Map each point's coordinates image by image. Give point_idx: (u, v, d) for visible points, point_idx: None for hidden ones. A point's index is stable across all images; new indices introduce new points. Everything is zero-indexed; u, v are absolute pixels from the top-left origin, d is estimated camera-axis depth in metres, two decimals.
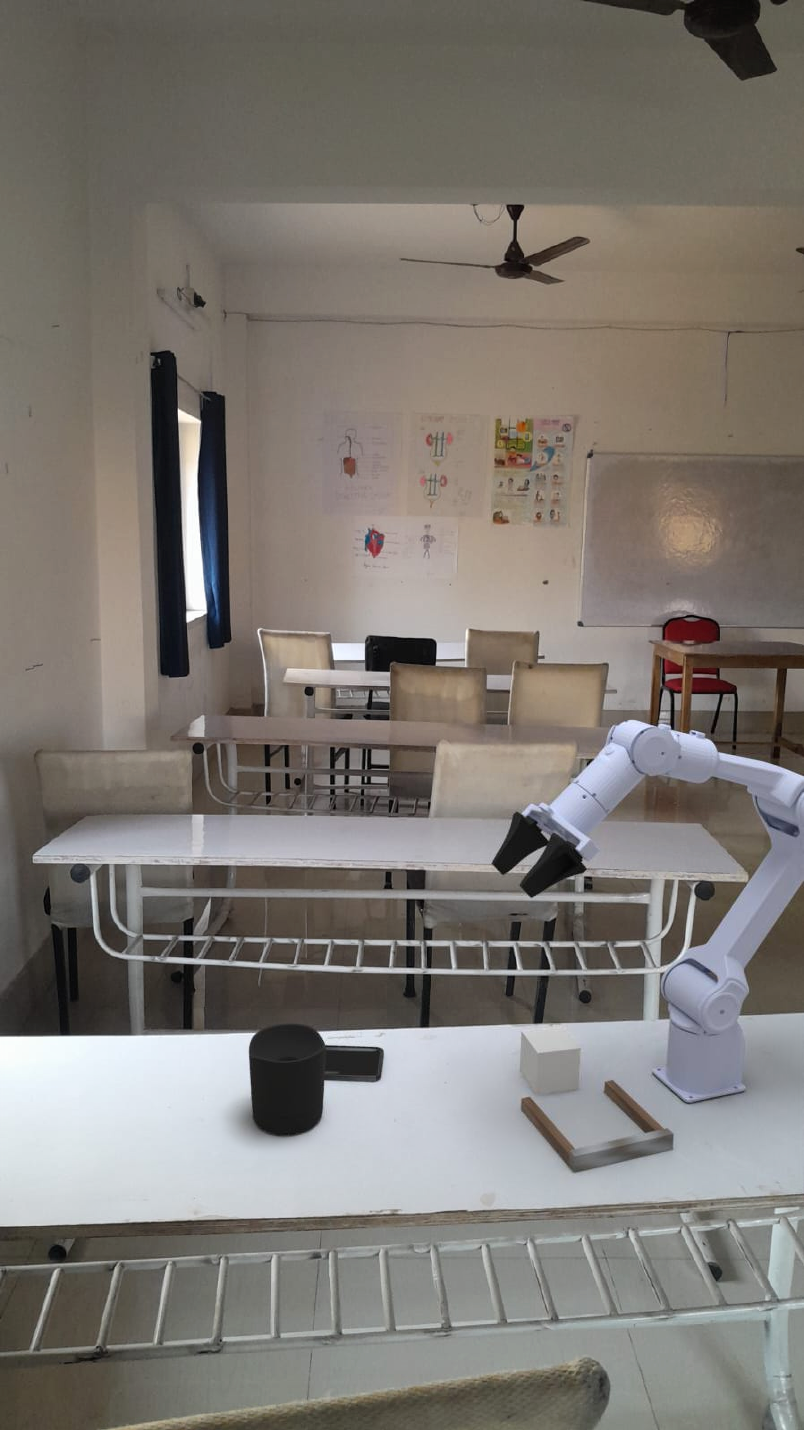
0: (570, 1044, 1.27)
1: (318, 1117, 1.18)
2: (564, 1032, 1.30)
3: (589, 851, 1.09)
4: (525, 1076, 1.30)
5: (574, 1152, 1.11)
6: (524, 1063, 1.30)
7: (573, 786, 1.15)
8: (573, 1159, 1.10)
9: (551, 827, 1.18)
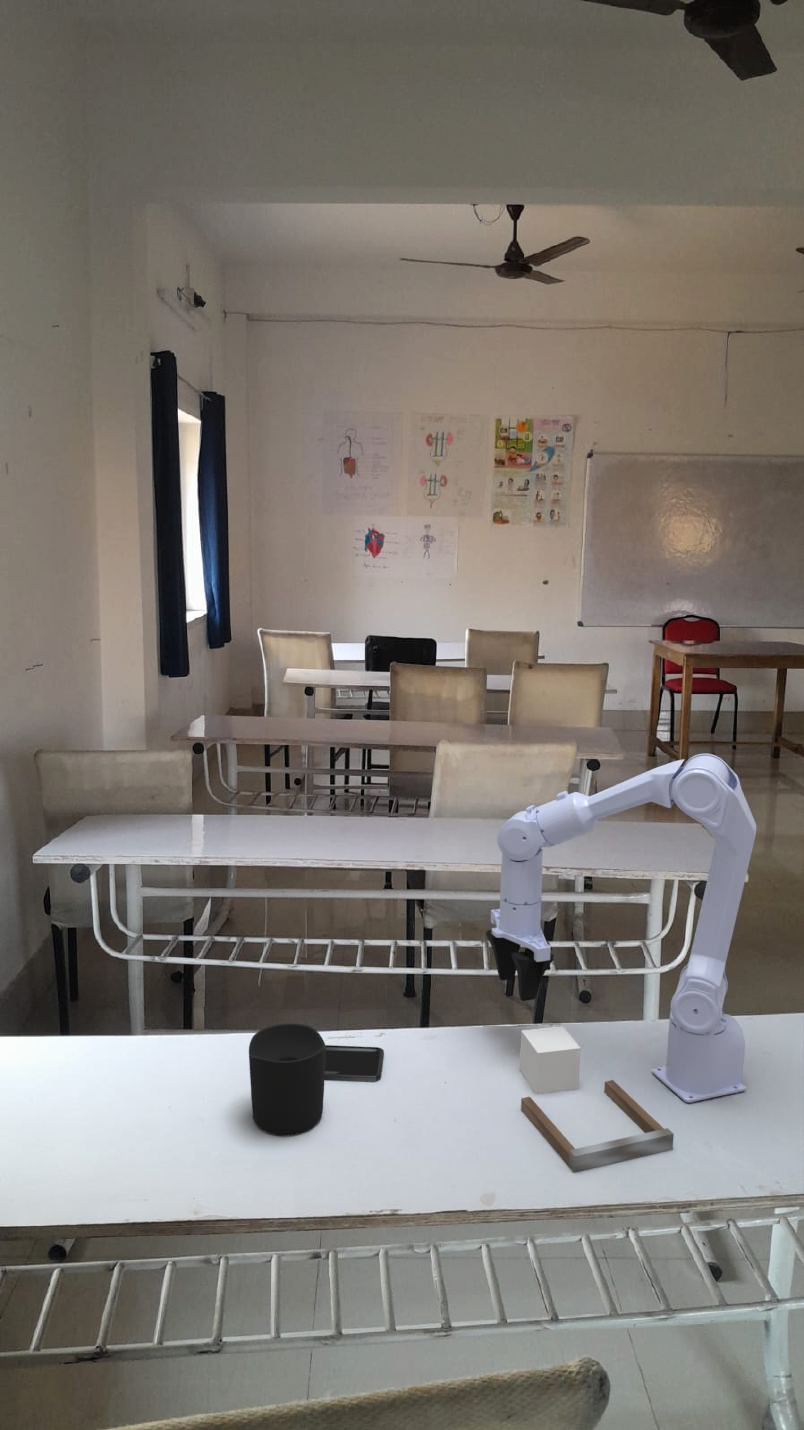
0: (570, 1044, 1.27)
1: (318, 1117, 1.18)
2: (564, 1032, 1.30)
3: (544, 954, 1.29)
4: (525, 1076, 1.30)
5: (574, 1152, 1.11)
6: (524, 1063, 1.30)
7: (502, 902, 1.34)
8: (573, 1159, 1.10)
9: None
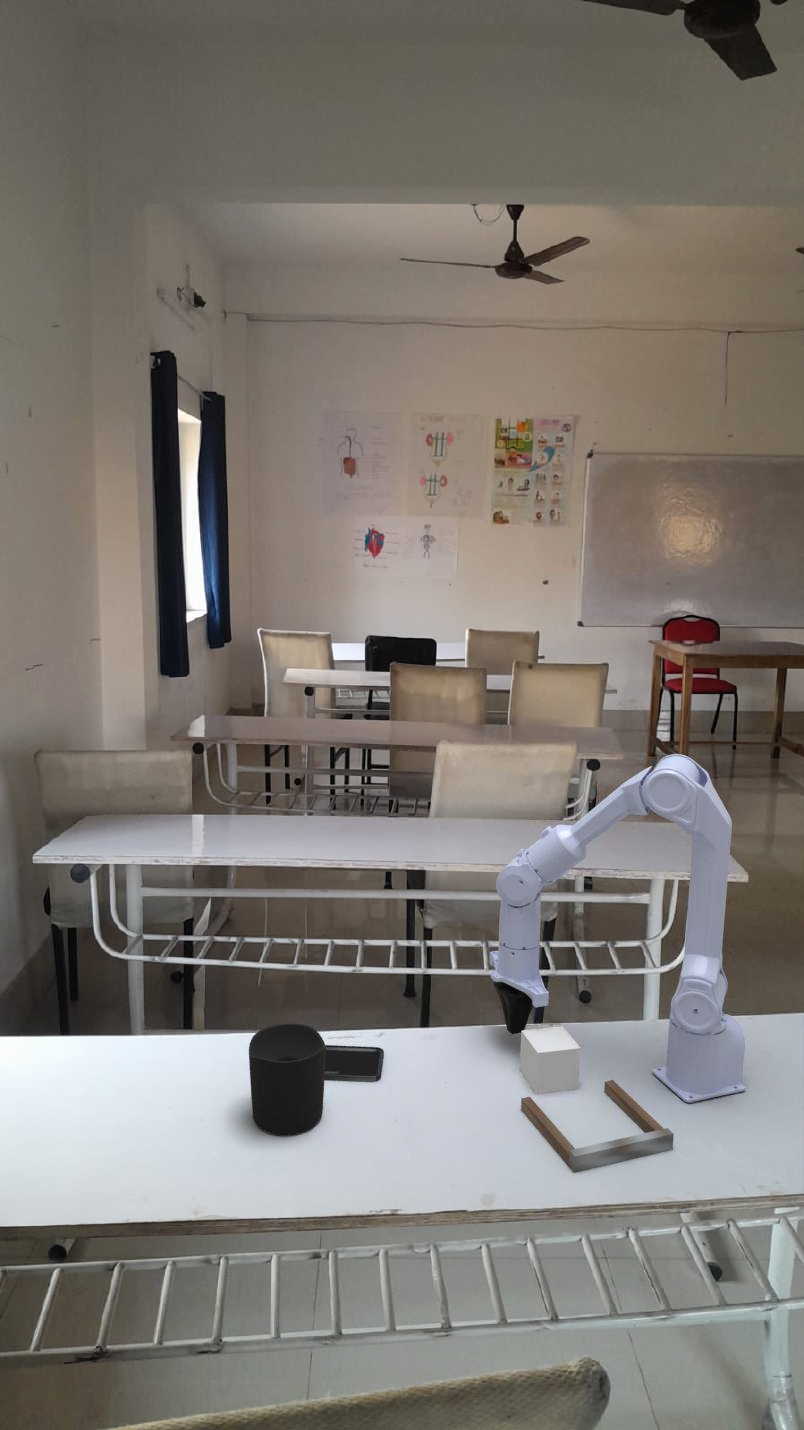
0: (570, 1044, 1.27)
1: (318, 1117, 1.18)
2: (564, 1032, 1.30)
3: (542, 1000, 1.30)
4: (525, 1076, 1.29)
5: (574, 1152, 1.11)
6: (524, 1063, 1.30)
7: (500, 947, 1.35)
8: (573, 1159, 1.10)
9: None
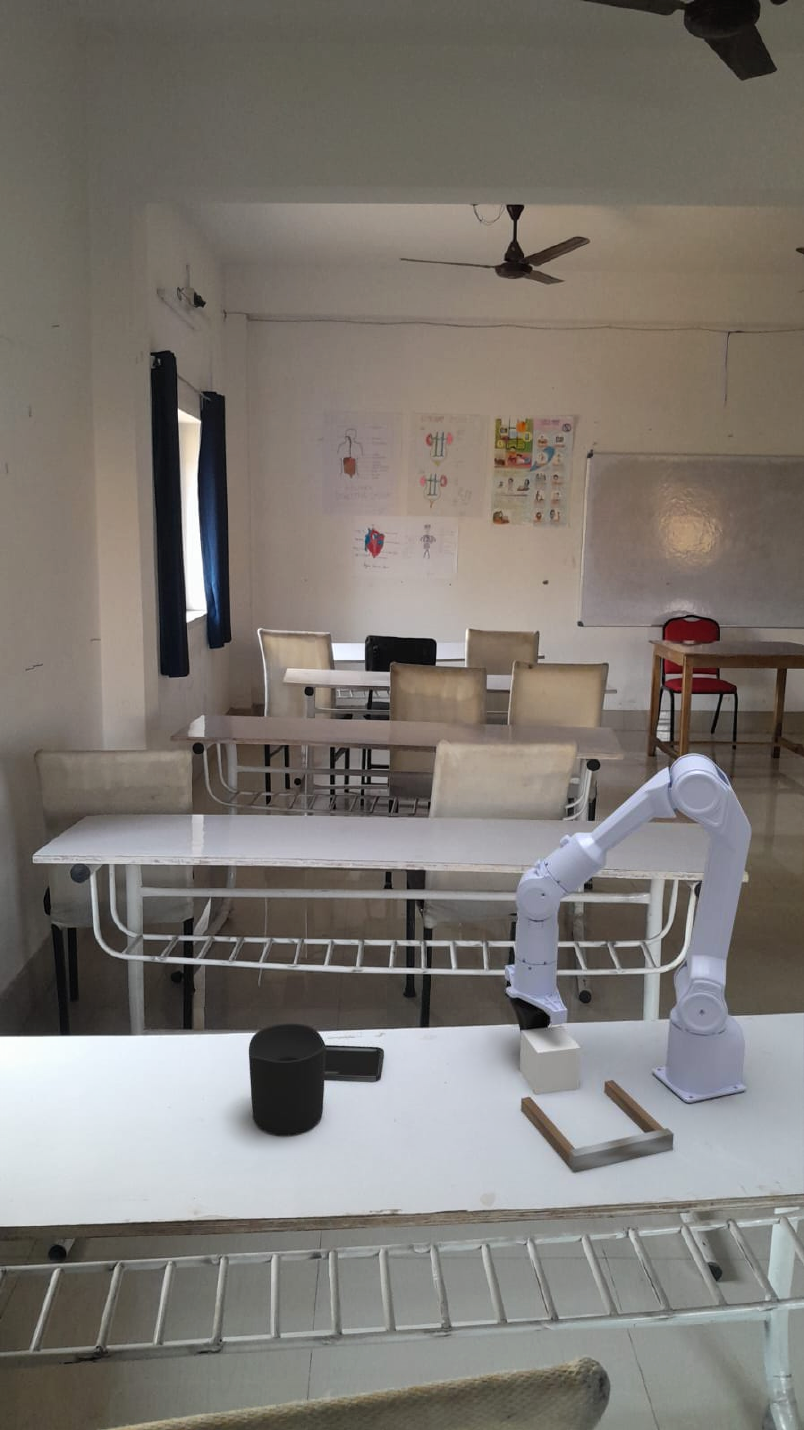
0: (570, 1044, 1.27)
1: (318, 1117, 1.18)
2: (564, 1032, 1.30)
3: (561, 1017, 1.26)
4: (525, 1076, 1.29)
5: (574, 1152, 1.11)
6: (524, 1062, 1.30)
7: (517, 961, 1.30)
8: (573, 1159, 1.10)
9: None
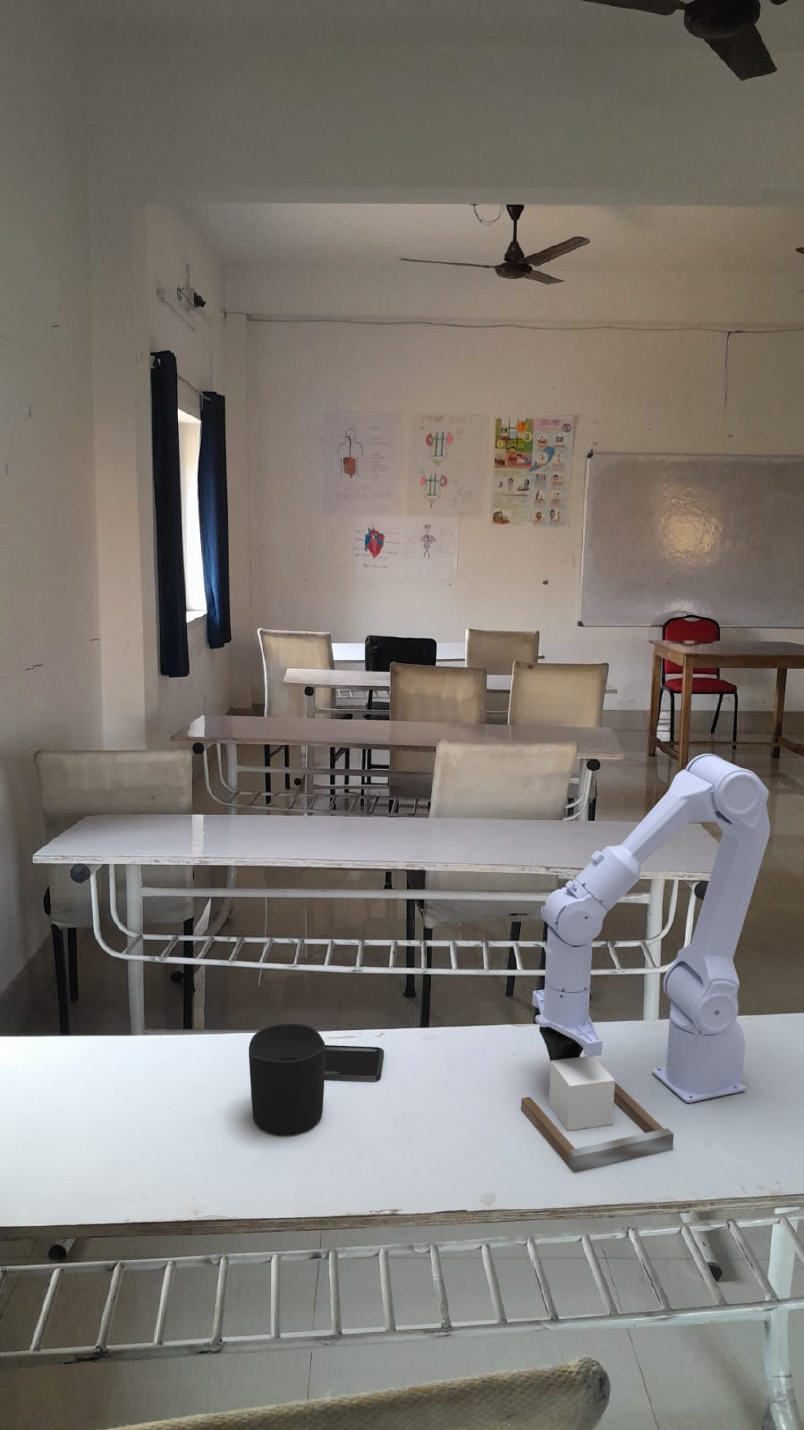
0: (603, 1076, 1.19)
1: (318, 1117, 1.18)
2: (596, 1062, 1.23)
3: (595, 1049, 1.18)
4: (555, 1109, 1.22)
5: (574, 1152, 1.11)
6: (554, 1095, 1.22)
7: (547, 988, 1.22)
8: (573, 1159, 1.10)
9: None
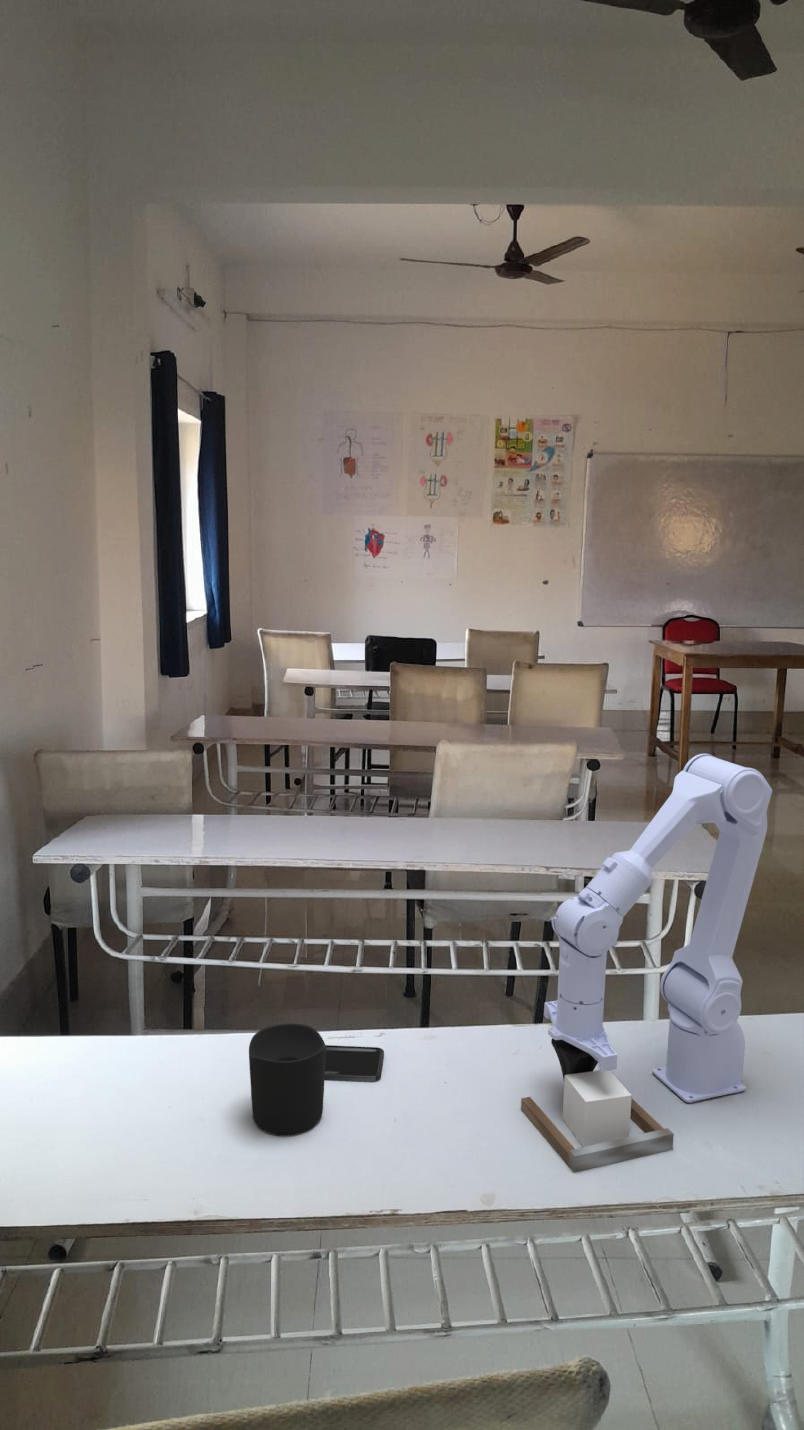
0: (619, 1091, 1.16)
1: (318, 1117, 1.18)
2: (611, 1076, 1.19)
3: (610, 1063, 1.15)
4: (569, 1125, 1.19)
5: (574, 1152, 1.11)
6: (568, 1110, 1.19)
7: (560, 1000, 1.19)
8: (573, 1159, 1.10)
9: None
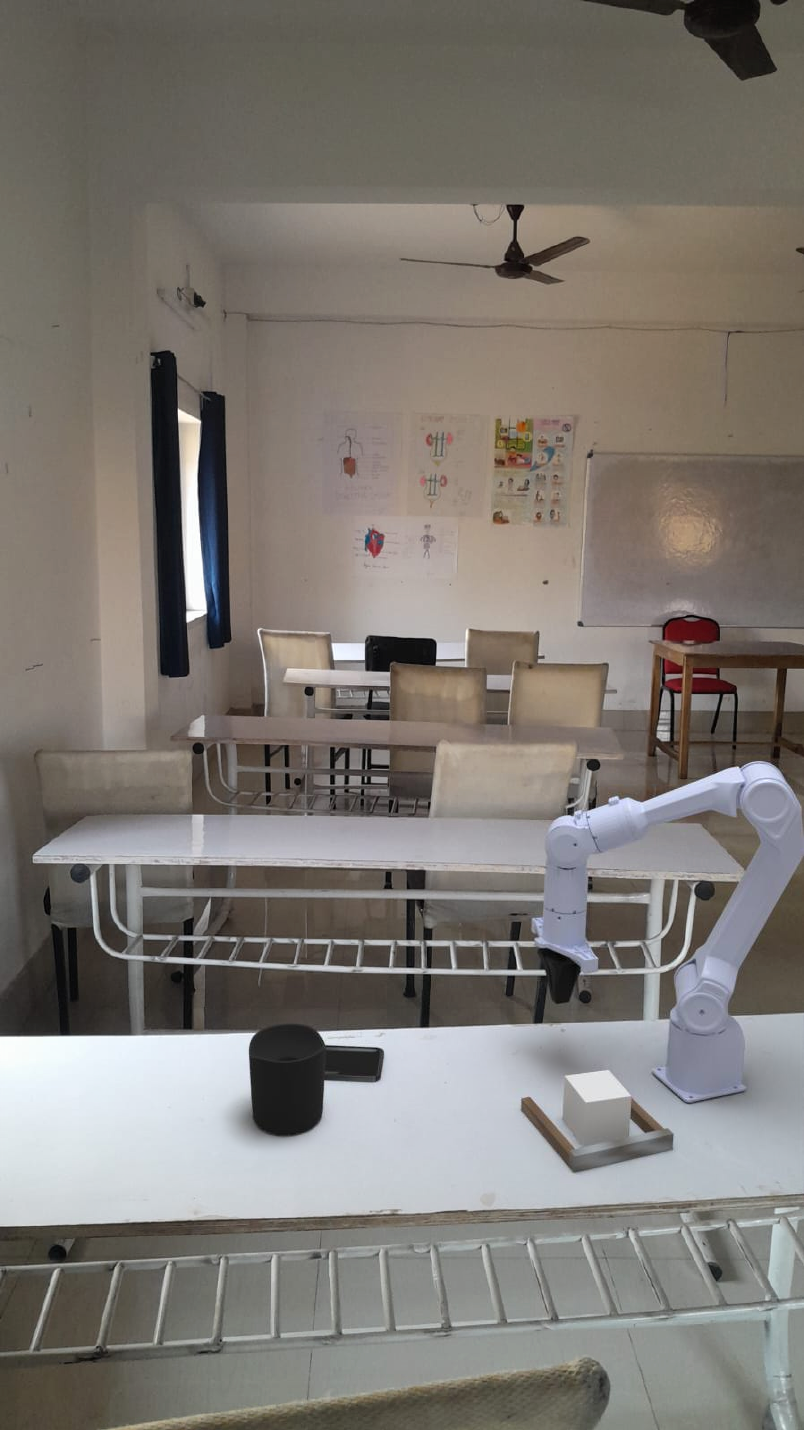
0: (619, 1091, 1.16)
1: (318, 1117, 1.18)
2: (611, 1077, 1.19)
3: (591, 966, 1.24)
4: (569, 1126, 1.19)
5: (574, 1152, 1.11)
6: (568, 1111, 1.19)
7: (546, 911, 1.28)
8: (573, 1159, 1.10)
9: None
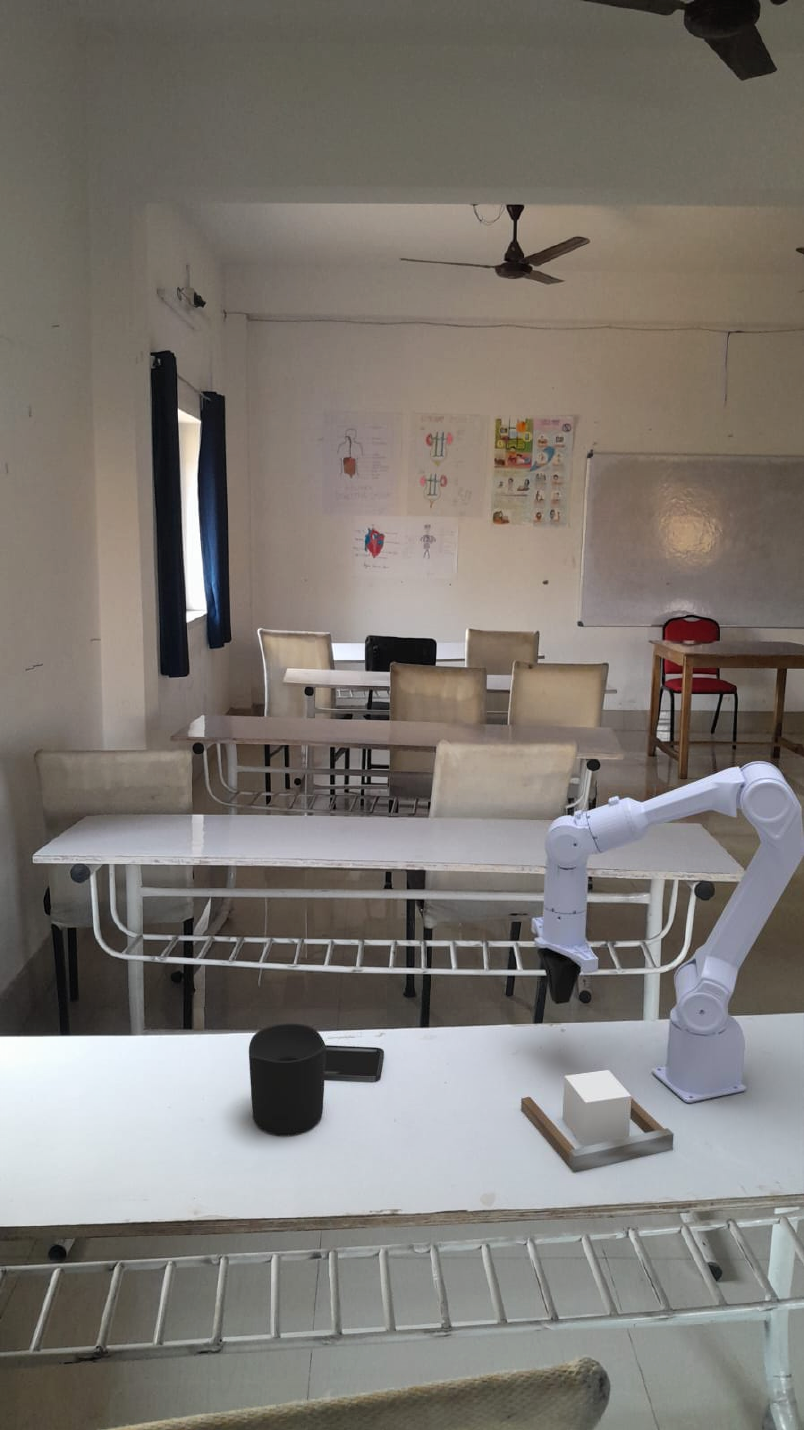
0: (619, 1091, 1.16)
1: (318, 1117, 1.18)
2: (611, 1077, 1.19)
3: (591, 966, 1.24)
4: (569, 1126, 1.19)
5: (574, 1152, 1.11)
6: (568, 1111, 1.19)
7: (546, 911, 1.28)
8: (573, 1159, 1.10)
9: None
